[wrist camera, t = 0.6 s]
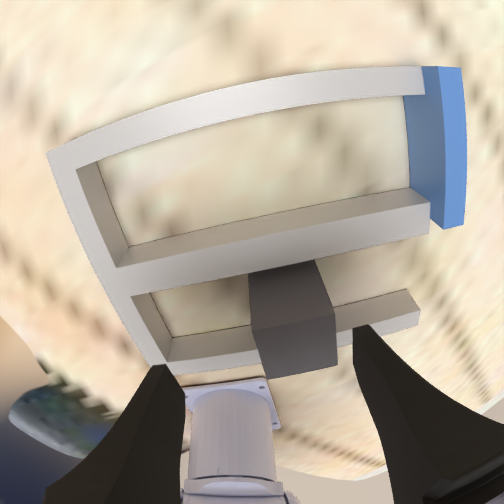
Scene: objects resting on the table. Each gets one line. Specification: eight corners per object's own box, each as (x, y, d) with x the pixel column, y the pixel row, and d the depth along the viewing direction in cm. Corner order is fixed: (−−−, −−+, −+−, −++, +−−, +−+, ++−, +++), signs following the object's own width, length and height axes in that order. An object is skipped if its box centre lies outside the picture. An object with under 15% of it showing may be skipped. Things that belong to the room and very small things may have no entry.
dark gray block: (316, 300, 21) (337, 365, 16) (260, 311, 22) (267, 379, 16) (310, 251, 19) (335, 313, 14) (247, 264, 20) (251, 330, 14)
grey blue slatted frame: (420, 299, 22) (443, 332, 18) (162, 353, 23) (153, 392, 20) (419, 67, 14) (460, 67, 10) (67, 143, 15) (30, 160, 12)
